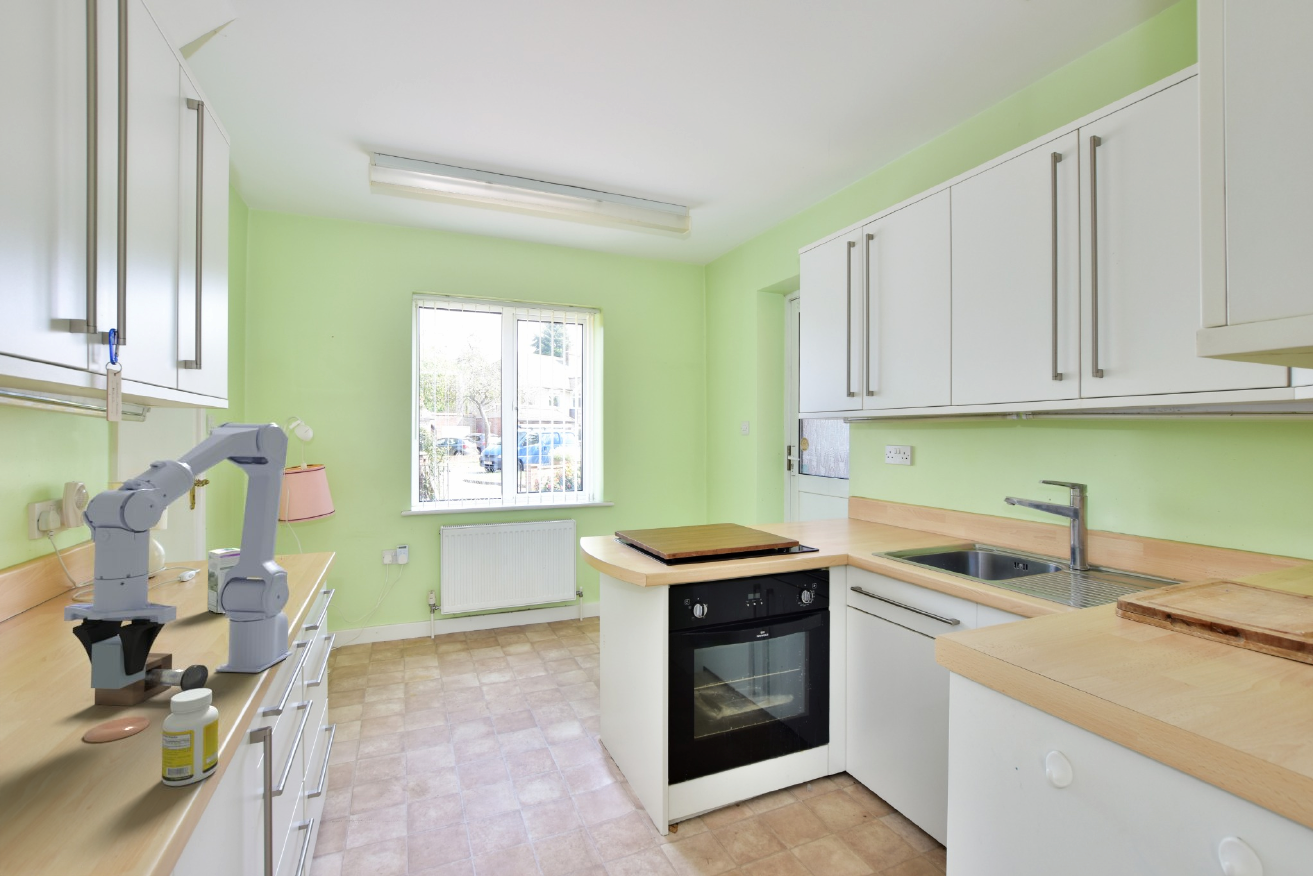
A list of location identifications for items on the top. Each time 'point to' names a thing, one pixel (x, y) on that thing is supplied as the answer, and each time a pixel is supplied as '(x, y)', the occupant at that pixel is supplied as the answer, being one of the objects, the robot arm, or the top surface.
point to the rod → (178, 677)
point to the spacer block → (110, 665)
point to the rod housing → (136, 685)
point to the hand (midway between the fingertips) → (119, 672)
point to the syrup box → (219, 573)
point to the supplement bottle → (190, 738)
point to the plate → (116, 729)
